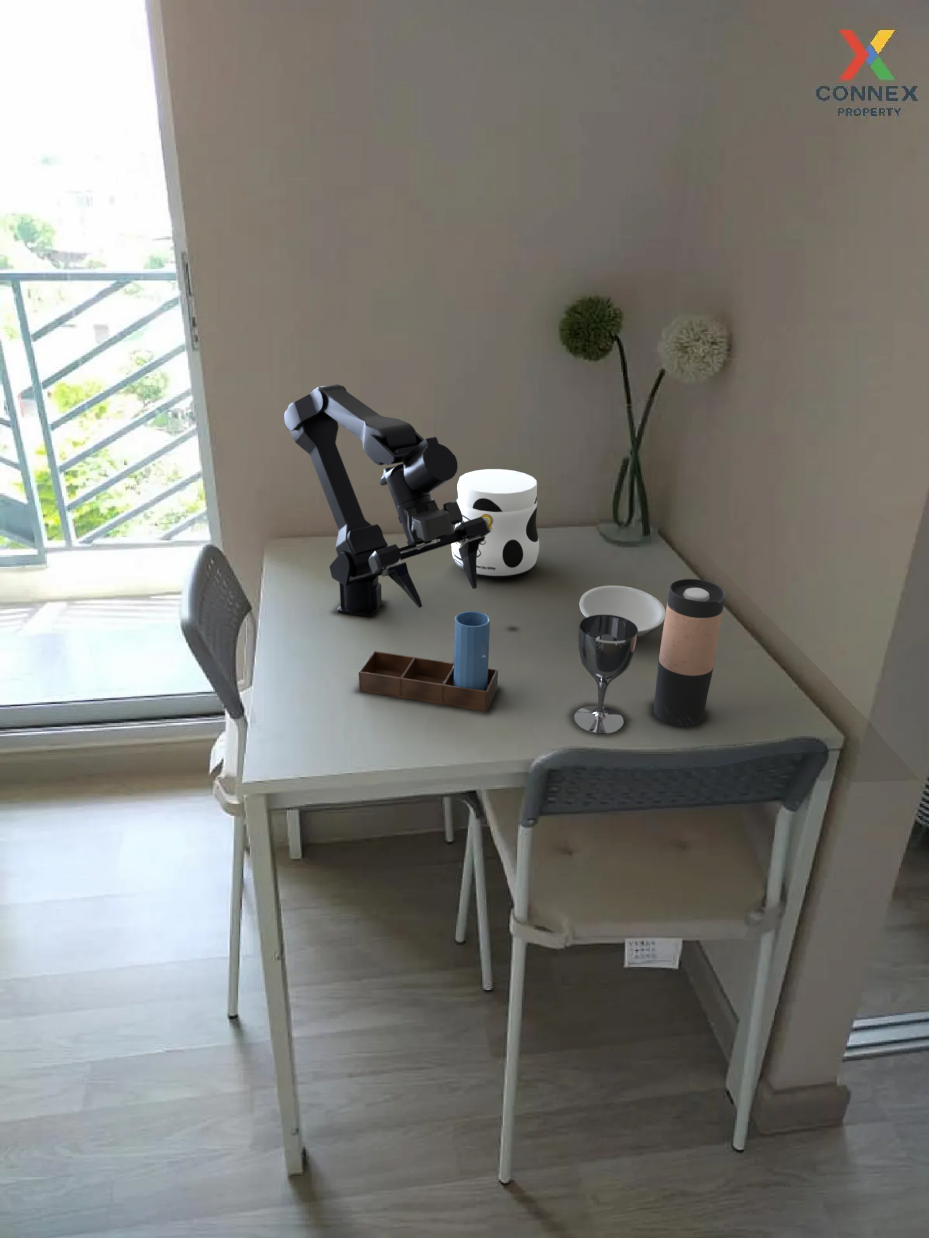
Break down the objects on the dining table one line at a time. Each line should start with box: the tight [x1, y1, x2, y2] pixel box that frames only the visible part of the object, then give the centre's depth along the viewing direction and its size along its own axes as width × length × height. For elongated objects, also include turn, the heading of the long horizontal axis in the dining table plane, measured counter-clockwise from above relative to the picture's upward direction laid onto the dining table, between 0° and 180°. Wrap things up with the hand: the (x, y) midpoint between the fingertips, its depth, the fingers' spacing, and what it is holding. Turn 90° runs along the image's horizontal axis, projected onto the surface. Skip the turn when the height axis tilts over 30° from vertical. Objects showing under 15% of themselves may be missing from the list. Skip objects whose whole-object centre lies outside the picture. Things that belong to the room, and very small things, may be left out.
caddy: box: [358, 650, 499, 713], centre depth 132 cm, size 20×7×3 cm, turn 75°
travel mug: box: [653, 578, 726, 727], centre depth 124 cm, size 8×8×20 cm
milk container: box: [450, 468, 540, 579], centre depth 171 cm, size 17×17×18 cm
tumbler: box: [453, 610, 491, 691], centre depth 128 cm, size 5×5×12 cm
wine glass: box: [573, 615, 639, 734], centre depth 123 cm, size 8×8×15 cm
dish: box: [578, 585, 666, 638], centre depth 149 cm, size 18×14×5 cm
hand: (448, 597), depth 134 cm, fingers open, 9 cm apart
